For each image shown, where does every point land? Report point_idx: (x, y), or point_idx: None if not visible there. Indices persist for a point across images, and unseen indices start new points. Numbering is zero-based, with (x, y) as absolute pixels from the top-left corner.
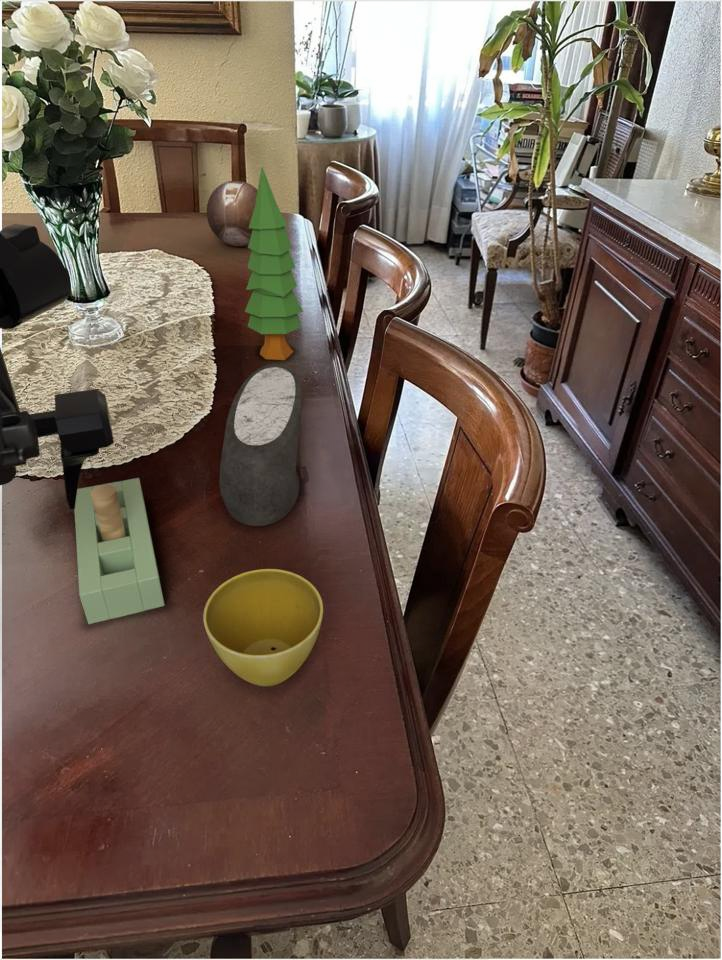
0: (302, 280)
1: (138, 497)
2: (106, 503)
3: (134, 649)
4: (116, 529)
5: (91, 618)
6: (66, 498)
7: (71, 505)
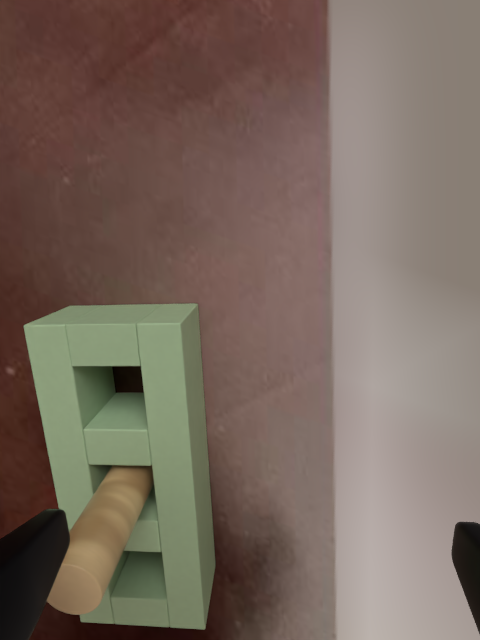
0: None
1: None
2: (71, 547)
3: (119, 217)
4: (104, 485)
5: (187, 306)
6: (20, 555)
7: (37, 521)
